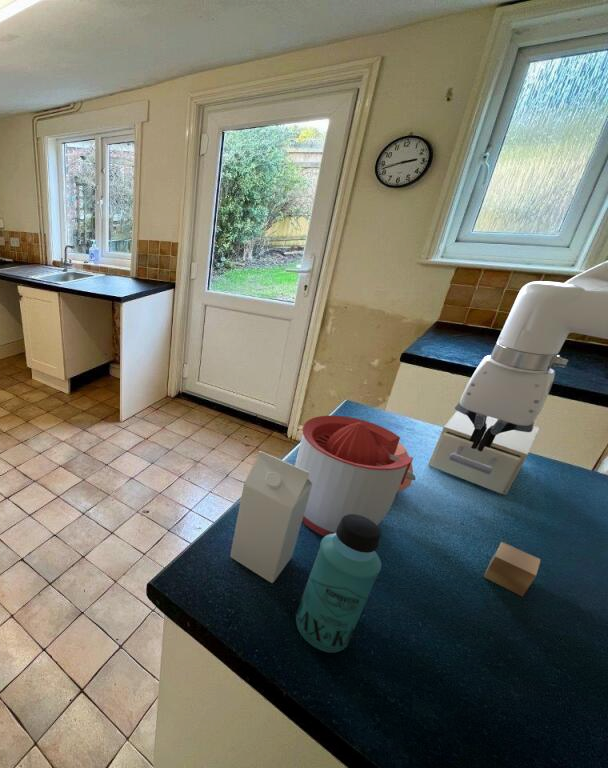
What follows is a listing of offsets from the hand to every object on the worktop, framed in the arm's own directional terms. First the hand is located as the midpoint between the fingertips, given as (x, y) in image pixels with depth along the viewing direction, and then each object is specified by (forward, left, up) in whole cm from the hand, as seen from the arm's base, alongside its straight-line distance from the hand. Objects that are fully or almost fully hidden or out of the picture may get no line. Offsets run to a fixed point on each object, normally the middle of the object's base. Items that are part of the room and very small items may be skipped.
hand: (477, 447), depth 78 cm
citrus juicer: (+12, +28, -10) cm, 32 cm away
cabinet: (0, -11, -10) cm, 14 cm away
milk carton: (+16, +46, -10) cm, 50 cm away
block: (-10, +21, -10) cm, 25 cm away
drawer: (0, -6, -9) cm, 10 cm away
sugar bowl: (+13, +11, -10) cm, 19 cm away
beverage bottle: (+4, +52, -10) cm, 53 cm away
